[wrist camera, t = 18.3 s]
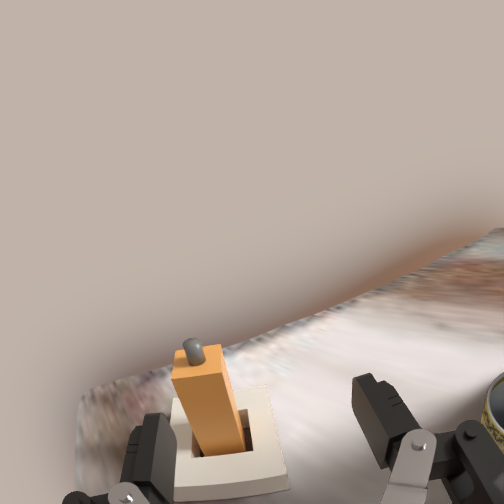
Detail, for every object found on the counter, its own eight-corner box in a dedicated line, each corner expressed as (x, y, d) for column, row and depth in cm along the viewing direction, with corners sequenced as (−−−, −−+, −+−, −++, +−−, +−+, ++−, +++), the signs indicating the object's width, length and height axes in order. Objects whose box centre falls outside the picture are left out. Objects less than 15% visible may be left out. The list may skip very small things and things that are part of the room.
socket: (181, 415, 37) (173, 397, 36) (269, 403, 38) (266, 384, 37) (174, 501, 24) (163, 487, 23) (289, 489, 25) (287, 473, 24)
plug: (208, 439, 33) (170, 333, 28) (244, 434, 33) (216, 326, 28) (209, 466, 29) (164, 360, 24) (248, 461, 29) (216, 353, 24)
